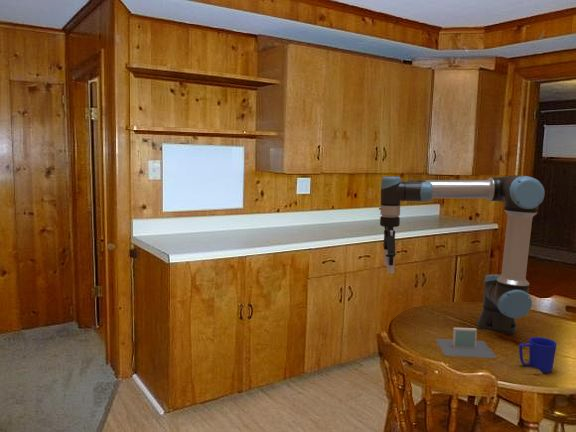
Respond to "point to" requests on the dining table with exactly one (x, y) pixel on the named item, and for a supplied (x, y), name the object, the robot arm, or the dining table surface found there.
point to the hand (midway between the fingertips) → (388, 269)
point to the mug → (540, 353)
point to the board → (465, 349)
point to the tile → (464, 337)
